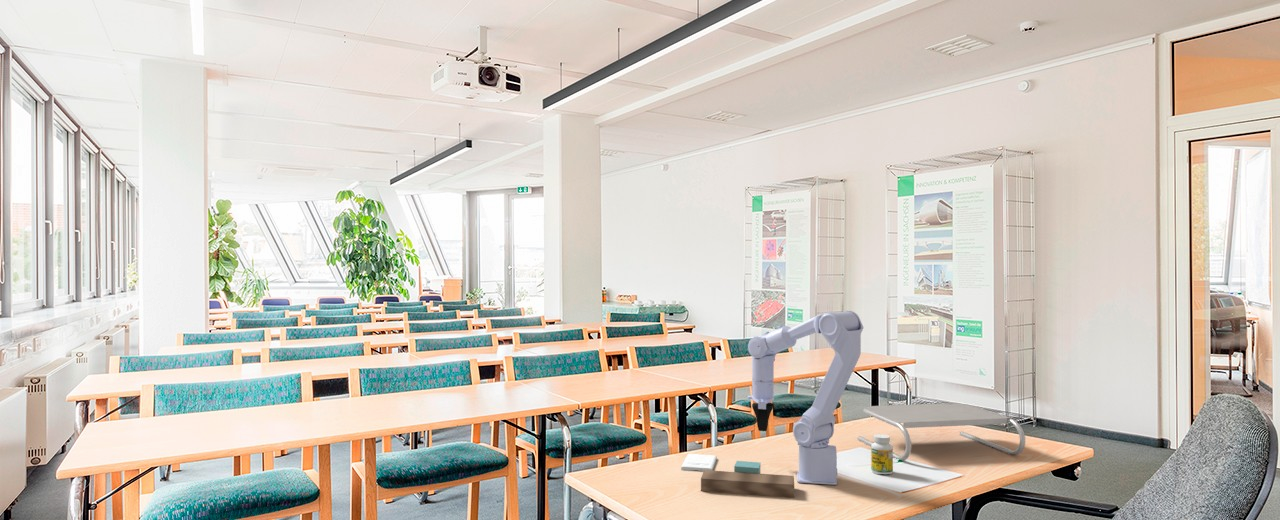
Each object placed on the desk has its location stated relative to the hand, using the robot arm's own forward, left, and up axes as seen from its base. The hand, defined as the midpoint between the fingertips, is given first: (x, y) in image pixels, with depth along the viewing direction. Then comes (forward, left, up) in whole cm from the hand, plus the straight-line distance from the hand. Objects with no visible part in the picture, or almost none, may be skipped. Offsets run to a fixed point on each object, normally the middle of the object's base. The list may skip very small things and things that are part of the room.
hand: (762, 430), depth 192 cm
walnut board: (+3, +22, -9) cm, 24 cm away
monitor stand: (-51, -28, -10) cm, 59 cm away
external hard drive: (+17, +3, -10) cm, 20 cm away
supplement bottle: (-31, 0, -10) cm, 32 cm away
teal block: (+3, +15, -10) cm, 18 cm away
